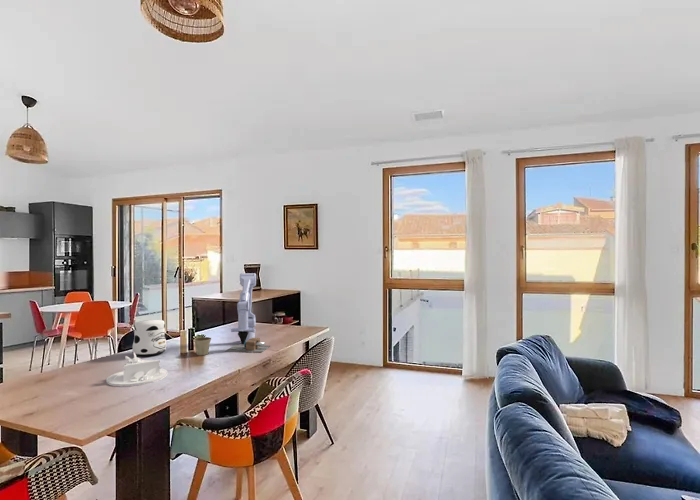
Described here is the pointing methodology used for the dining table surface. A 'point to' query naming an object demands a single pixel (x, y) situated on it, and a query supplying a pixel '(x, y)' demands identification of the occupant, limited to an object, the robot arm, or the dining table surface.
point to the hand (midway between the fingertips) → (243, 344)
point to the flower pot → (202, 345)
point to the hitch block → (248, 347)
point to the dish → (137, 373)
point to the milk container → (149, 337)
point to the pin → (256, 344)
